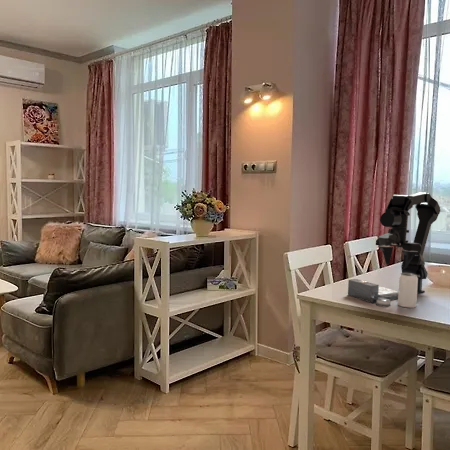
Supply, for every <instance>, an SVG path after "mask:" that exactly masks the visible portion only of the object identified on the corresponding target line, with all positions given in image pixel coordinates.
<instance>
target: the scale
mask: <svg viewBox="0 0 450 450" xmlns="http://www.w3.org/2000/svg"><path fill="white" fill-rule="evenodd" d="M347 285H348V286H347V287H348V288H347V296H350V297H353V298H356V299H359V300H362V301H365V302H369V303H371V304H373V303H375V304H376V300H377V299H378V298H384V299H389V300H390V301H391V300H392V301H393V300H398V294H395V295H388V296H382V297H379V296H378V290H379V284H376V283H372V282H369V281H367V280H362V279H359V278H351V279H348V284H347Z"/></svg>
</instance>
